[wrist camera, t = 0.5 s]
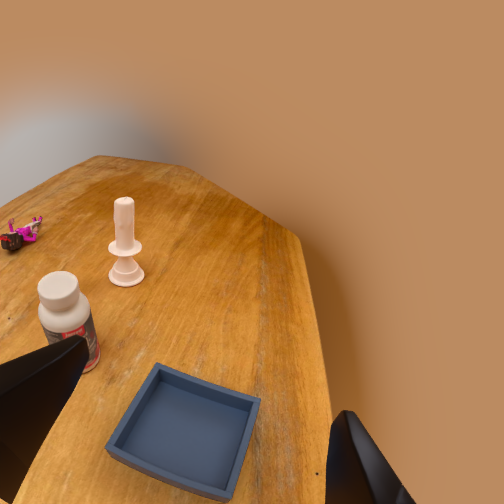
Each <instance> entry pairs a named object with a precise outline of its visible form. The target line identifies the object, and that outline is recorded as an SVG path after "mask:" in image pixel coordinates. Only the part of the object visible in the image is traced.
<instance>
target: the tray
mask: <svg viewBox="0 0 504 504" xmlns="http://www.w3.org/2000/svg"><path fill="white" fill-rule="evenodd" d="M260 402H261V399H260V398H257V397H253V396H250V395H247V394H243V393H240V392H237V391H234V390H230V389H227V388H224V387H221V386H218V385H215V384H212V383H209V382H207V381H204V380H201V379H198V378H196V377H193V376H190V375H188V374H185V373H182V372H180V371H177V370H175V369H172V368H170V367H167V366H165V365H162V364H160V363H158V362H156V364H155V365H154V367H153V369H152V370H151V372H150V373H149V375H148V377H147V378H146V380H145V381H144V383H143V385H142V386H141V388H140V389H139V391H138V393H137V394H136V396H135V398H134V399H133V401H132V403H131V404H130V406H129V407H128V409H127V411H126V412H125V414H124V416H123V417H122V419H121V421H120V422H119V424H118V426H117V427H116V429H115V431H114V432H113V434H112V436H111V437H110V439H109V441H108V443H107V444H106V446H105V449H106V450H107V452H108V453H109V454H110V456H111V457H112V458H114V459H116V460H118V461H120V462H122V463H123V464H125V465H127V466H129V467H131V468H133V469H135V470H138V471H140V472H142V473H144V474H146V475H148V476H151V477H153V478H155V479H157V480H160V481H162V482H165V483H167V484H170V485H172V486H175V487H177V488H180V489H183V490H185V491H188V492H191V493H194V494H197V495H200V496H203V497H206V498H209V499H213V500H216V501H220V502H223V503H228V502H229V501H230V500H231V499H232V496H233V493H234V490H235V487H236V483H237V480H238V477H239V474H240V471H241V467H242V464H243V461H244V458H245V454H246V451H247V448H248V444H249V441H250V437H251V434H252V430H253V427H254V423H255V420H256V416H257V413H258V409H259V405H260Z"/></svg>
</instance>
